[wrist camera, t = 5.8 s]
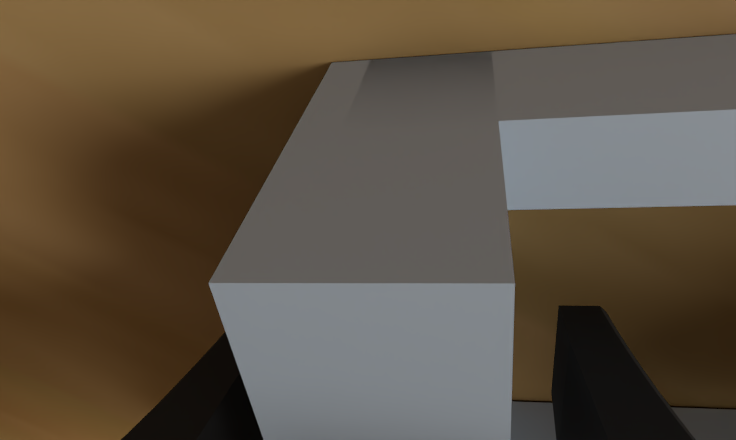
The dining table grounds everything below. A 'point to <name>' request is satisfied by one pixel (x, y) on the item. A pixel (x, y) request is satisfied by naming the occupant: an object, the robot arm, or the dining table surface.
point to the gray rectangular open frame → (453, 226)
